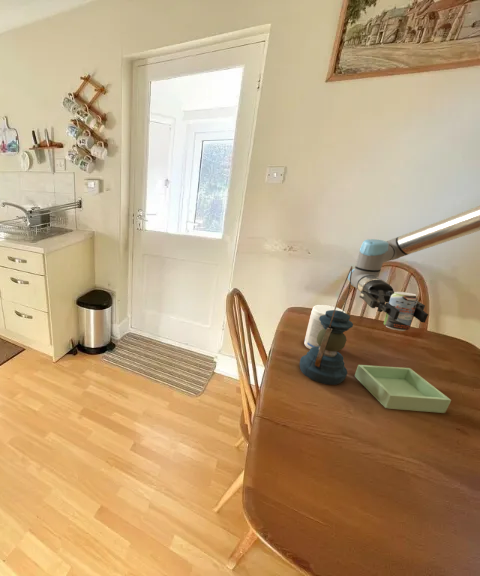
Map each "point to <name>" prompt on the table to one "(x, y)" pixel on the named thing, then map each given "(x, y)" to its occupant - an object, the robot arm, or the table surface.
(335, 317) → the lantern
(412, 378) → the green square tray
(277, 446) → the table surface
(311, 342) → the supplement tub
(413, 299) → the beverage can
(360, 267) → the robot arm
